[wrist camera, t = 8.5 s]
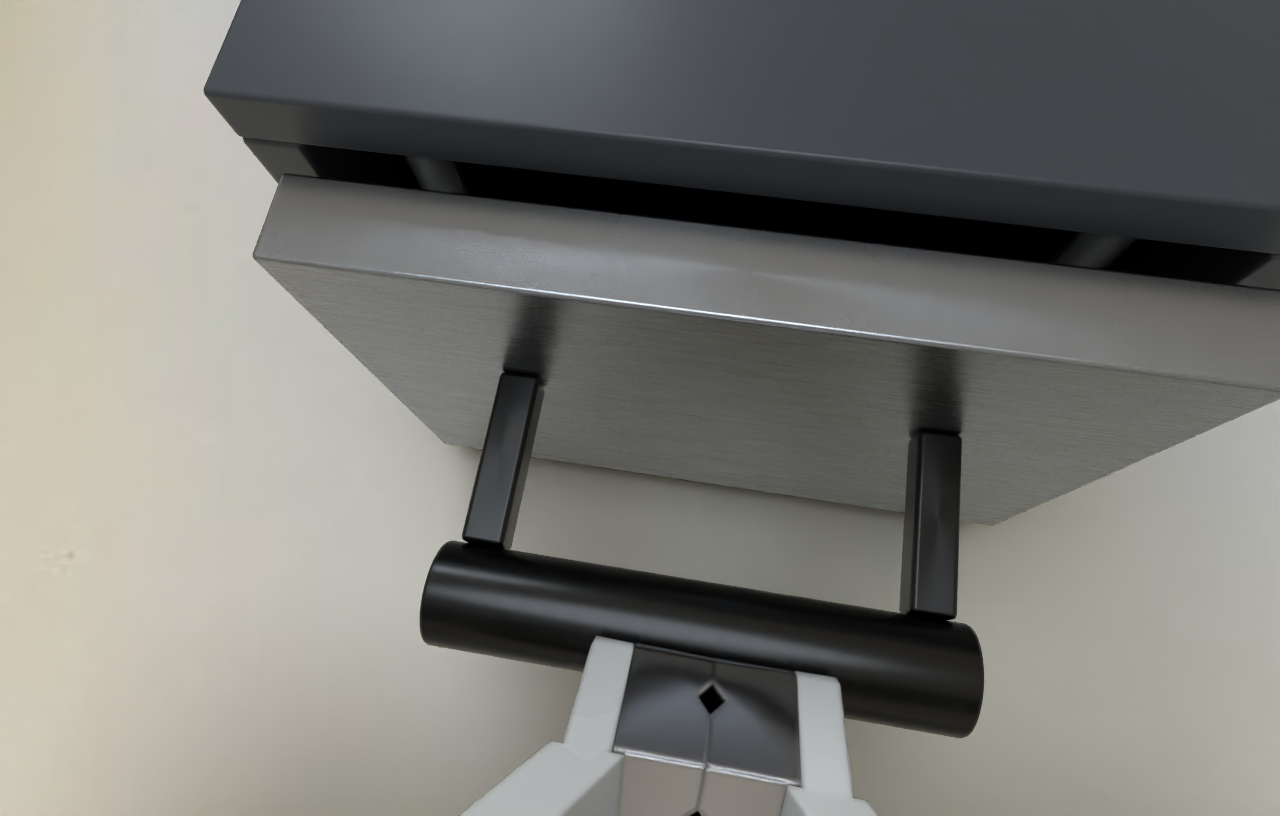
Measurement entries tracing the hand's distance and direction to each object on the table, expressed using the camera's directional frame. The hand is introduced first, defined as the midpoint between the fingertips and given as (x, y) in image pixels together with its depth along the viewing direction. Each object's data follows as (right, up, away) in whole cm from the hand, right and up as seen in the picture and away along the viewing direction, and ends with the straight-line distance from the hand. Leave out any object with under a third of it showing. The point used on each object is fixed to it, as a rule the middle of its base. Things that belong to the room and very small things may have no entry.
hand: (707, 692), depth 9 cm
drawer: (+1, +6, +8) cm, 10 cm away
